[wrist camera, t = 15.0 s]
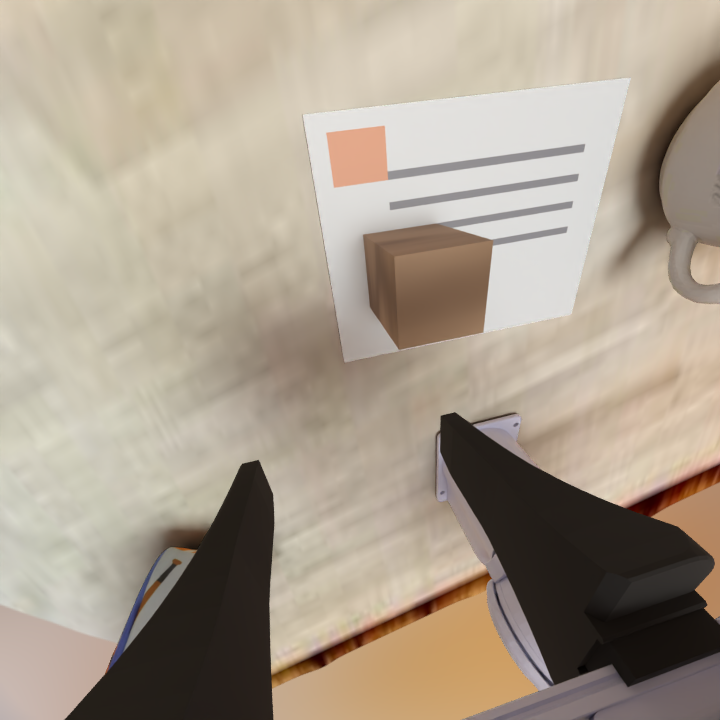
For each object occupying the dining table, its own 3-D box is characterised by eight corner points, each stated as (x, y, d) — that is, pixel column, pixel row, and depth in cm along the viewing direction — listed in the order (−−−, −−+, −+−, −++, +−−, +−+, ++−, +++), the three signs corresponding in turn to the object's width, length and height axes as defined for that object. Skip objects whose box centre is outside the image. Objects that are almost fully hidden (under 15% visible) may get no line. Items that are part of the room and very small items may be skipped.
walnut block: (434, 295, 21) (483, 332, 16) (370, 307, 21) (398, 350, 15) (436, 223, 19) (493, 240, 14) (362, 234, 18) (394, 256, 13)
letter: (570, 313, 24) (571, 314, 24) (344, 362, 22) (344, 362, 22) (628, 78, 17) (631, 77, 17) (302, 114, 15) (302, 114, 15)
